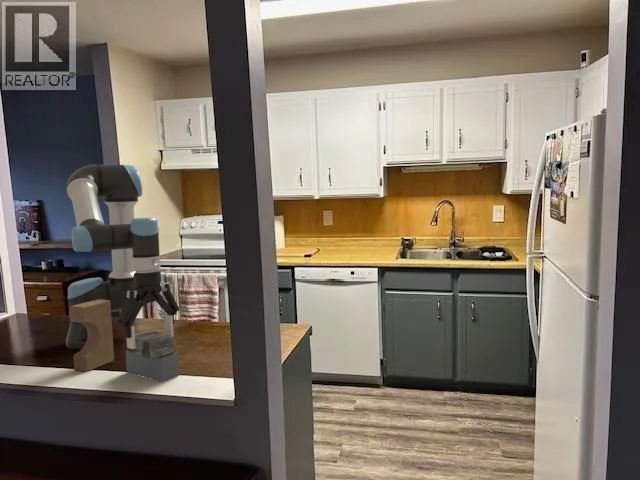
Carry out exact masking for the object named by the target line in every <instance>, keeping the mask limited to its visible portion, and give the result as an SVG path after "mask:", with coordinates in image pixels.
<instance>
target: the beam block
mask: <svg viewBox="0 0 640 480" xmlns="http://www.w3.org/2000/svg"><path fill="white" fill-rule="evenodd" d="M125 361H126V363H125V364H126V373H127V374H130V375H133V374H135V375H134V376H137V375H140V376H139V377H141V376H144V377H147V378H146V379H148V378H151V379H150V380H152V379H153V380H152V381H156V382H160V383H164V382H167V381H170V380H171V379H174V378H177V377H179V376H180V369H179V368H180V367H179V354H178V352H176V353H174V354H172V353H170V354H168V355H165V356H161V357H159V358H157V359H153V360H150V359H149V358H146V357H143V356H142V355H140V354H137V353H132V352H129V351H127V350H125ZM144 377H143V378H144Z"/></svg>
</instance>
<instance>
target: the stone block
mask: <svg viewBox="0 0 640 480" xmlns="http://www.w3.org/2000/svg"><path fill="white" fill-rule="evenodd" d="M174 339H175V338H174V336H169V335H166V333H165V334H163V333H160V332H159V331H158V330H156V331H152V330H146V331H142V332H137V333H136V332H135V344H136V349H130V348H127V338H125V343H126V345H125V346H126V351H129V352H132V353H137V354H140V355H142V356H143V357H146V358H149V359H150V360H153V359H157V358H159V357H161V356H165V355H168V354H170V353H172V354H174V353H177V350H176V346H175V340H174Z"/></svg>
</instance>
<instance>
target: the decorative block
mask: <svg viewBox="0 0 640 480" xmlns="http://www.w3.org/2000/svg"><path fill="white" fill-rule="evenodd" d="M70 319H71V322H78V323H81V324H83V325H84V326H85V327H86V329H87V333H88V336H87V341H86V343H85V345H84V347H83V348H82V349H79V350H80V351H78V352H76V353H75V354H73V357H72V358H73V369H74V370H75V371H78V370H81V371H80V372H84V371H87V372H89V370H90V371H93V370H95V369H98V368H100V367H102V366H105V365H107V364H110V363H113V362H114V361H115V351H114V338H113V335H114V334H113V325H112V324H113V323H112V322H113V321H112V320H113V319H112V312H111V305H110V300H100V299H98V300H94V301H90V302H86V303H82V304H77V305H73V306H70V315H69V320H70Z"/></svg>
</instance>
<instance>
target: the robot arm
mask: <svg viewBox="0 0 640 480" xmlns="http://www.w3.org/2000/svg"><path fill="white" fill-rule="evenodd" d="M65 188H66V194H67V196H68V198H69V199H70V200H71V203H72V207H73V213H74V217H75V222H76V223H75V224H76V226H73V227H72V228H71V243H72V250H73V251H75V252H76V253H84V252H86V253H91V252H100V251H111V263H112V265H111V266H112V271H111V272H110V273H109V274H108V280H104V279H103V278H102V277H98V276H97V277H91V278H90V277H89V278H85V279H81V280H77V281H75V282H72V283H71V284H70V285H68V287H67V300H68V310H69V311H68V313H69V316H70V306H73V305H77V304H82V303H86V302H90V301H94V300H98V299H100V300H110V305H111V313H112V312H119V316H118V319H117V321H116V325H117V326H120V327H121V326H122V327H123V333H124V337H125V339H126V338H127V346H126V349H127V348H130V349H136V344H135V334H136V332H135V331H136V330H135V328H136V327H135V326H134V325H133V324H134V321H135V320H136V318H137V317H138V315H139V313H140V311H141V309H142V307H144V306H145V304H150V303H155V302H156V303H157V304H158V305H159V307H160V308H161V309H162V310H163V311H164V312H165V313H166V314H164V329H165V331H164V332H165V335H169V336H173V337H174V325H175V316H176V315H177V313H178V312H179V311H180V306H179V305H178V303H177V301H176V299H175V297H174V295H173V294H172V292H171V285H170V284H169V283H165V282H162V273H161V270H160V269H161V255H160V254H161V253H160V238H159V236H160V235H159V233H160V228H159V222H158V219H157V218H156V217H136V218H135V206H136V205H137V203H138V202H139V198H140V197H143V184H142V179H141V176H140V172H139V170H138V169H137V167H136V166H134V165H131V164H89V165H85V166H82V167H81V168H78V169H77V170H75V171H74V172H73V173H72V174H71V175H70V176H69V178H68V180H67V182H66V187H65ZM98 198H103V203H104V204H106V205H107V207H108V212H109V224H105V222H104V218H103V216H102V210H101V208H100V204H99V200H98ZM161 292H162V294H163V296H164V297H163V296H162V295H161ZM87 336H88V333H87V329H86V327H85V326H84V325H83V324H81V323H78V322H71V319H70V318H69V328H68V330H67V334H66V338H65V346H66V347H65V348H67V349H71V350H81V349H82V348H83V347H84V345H85V343H86V341H87Z"/></svg>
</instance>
